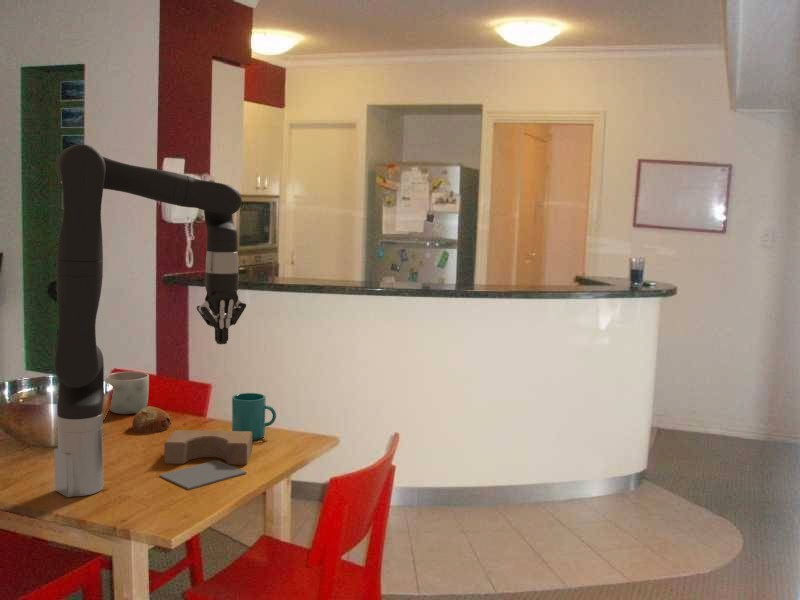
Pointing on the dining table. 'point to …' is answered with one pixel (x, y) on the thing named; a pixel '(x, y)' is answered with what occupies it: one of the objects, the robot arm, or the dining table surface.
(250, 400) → the cup
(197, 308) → the robot arm
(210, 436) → the decorative block
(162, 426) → the bread roll
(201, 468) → the mat
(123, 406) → the planter
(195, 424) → the dining table surface
